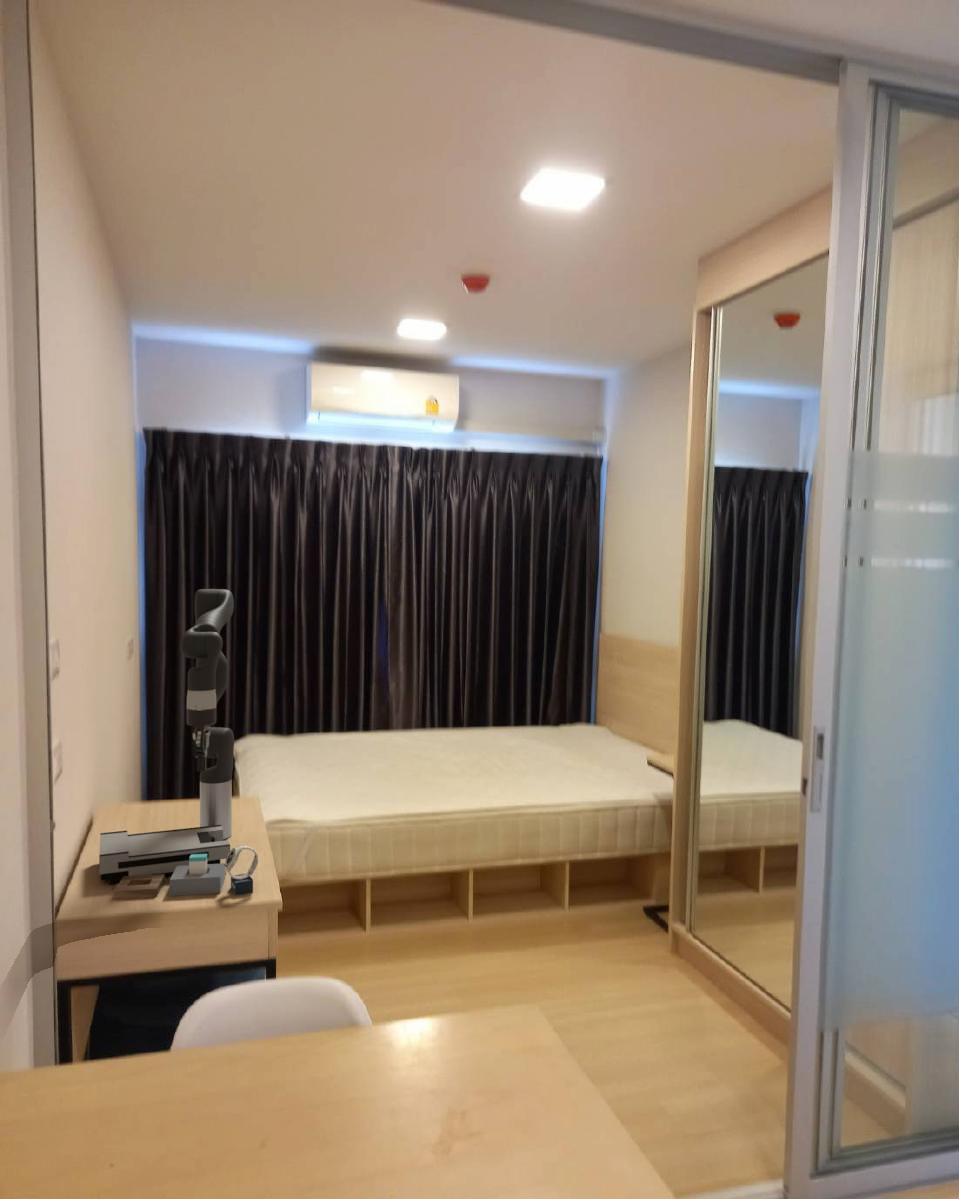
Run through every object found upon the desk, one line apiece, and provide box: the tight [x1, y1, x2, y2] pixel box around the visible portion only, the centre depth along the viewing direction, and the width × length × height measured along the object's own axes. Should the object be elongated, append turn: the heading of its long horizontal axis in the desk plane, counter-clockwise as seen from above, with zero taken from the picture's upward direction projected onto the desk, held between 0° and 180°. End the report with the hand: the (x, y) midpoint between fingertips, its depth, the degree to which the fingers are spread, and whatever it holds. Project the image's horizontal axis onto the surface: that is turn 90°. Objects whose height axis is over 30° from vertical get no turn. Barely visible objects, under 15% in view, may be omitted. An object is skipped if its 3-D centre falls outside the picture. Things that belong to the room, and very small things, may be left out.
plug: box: [189, 854, 207, 875], centre depth 208 cm, size 3×4×8 cm, turn 100°
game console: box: [98, 825, 231, 886], centre depth 223 cm, size 21×32×8 cm, turn 114°
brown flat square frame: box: [113, 874, 166, 900], centre depth 205 cm, size 10×10×2 cm
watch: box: [224, 844, 259, 896], centre depth 206 cm, size 6×8×11 cm
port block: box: [169, 862, 226, 897], centre depth 208 cm, size 10×12×4 cm
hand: (201, 770), depth 219 cm, fingers closed
